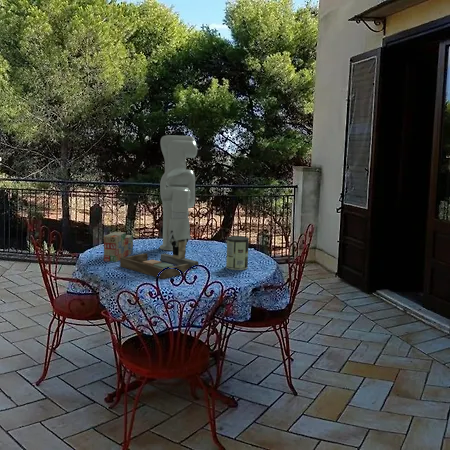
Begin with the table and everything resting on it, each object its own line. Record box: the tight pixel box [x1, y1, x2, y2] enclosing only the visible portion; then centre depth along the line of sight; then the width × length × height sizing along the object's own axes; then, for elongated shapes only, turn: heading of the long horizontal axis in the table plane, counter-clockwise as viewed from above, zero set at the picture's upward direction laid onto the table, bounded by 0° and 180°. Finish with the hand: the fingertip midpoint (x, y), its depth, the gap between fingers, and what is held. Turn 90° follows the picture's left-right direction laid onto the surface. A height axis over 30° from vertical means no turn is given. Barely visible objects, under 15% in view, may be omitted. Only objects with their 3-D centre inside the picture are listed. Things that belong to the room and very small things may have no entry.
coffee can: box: [225, 235, 250, 271], centre depth 232 cm, size 10×10×14 cm
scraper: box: [160, 240, 199, 269], centre depth 235 cm, size 4×22×11 cm, turn 50°
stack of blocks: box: [103, 231, 134, 263], centre depth 245 cm, size 21×6×12 cm, turn 169°
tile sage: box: [154, 261, 174, 269], centre depth 223 cm, size 6×6×3 cm
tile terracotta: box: [143, 259, 163, 266], centre depth 227 cm, size 6×6×3 cm
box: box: [119, 252, 190, 280], centre depth 223 cm, size 15×28×4 cm, turn 50°
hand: (179, 253), depth 235 cm, fingers closed on scraper, 4 cm apart
